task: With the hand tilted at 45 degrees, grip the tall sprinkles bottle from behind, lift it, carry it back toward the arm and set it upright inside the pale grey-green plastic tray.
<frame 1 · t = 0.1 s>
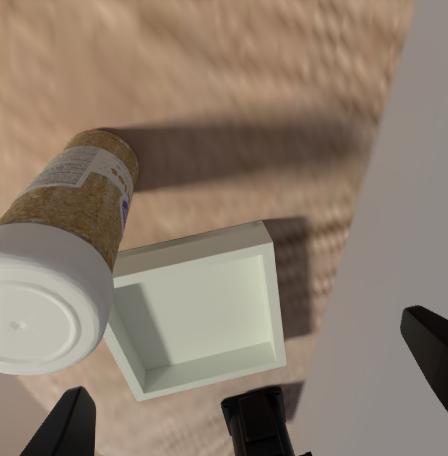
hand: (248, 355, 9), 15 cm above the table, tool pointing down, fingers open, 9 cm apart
tray: (194, 304, 27), on the table
sprinkles bottle: (102, 163, 21), on the table
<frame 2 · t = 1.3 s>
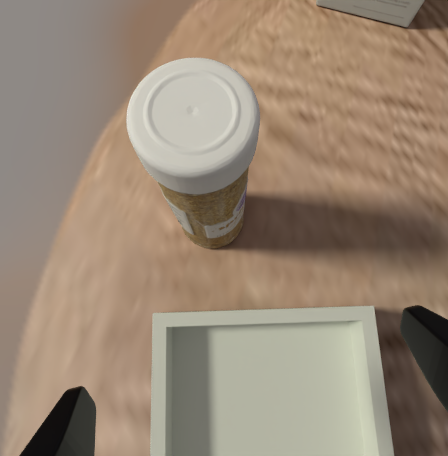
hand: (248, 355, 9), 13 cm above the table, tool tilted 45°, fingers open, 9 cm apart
tray: (264, 415, 21), on the table
sprinkles bottle: (212, 218, 24), on the table
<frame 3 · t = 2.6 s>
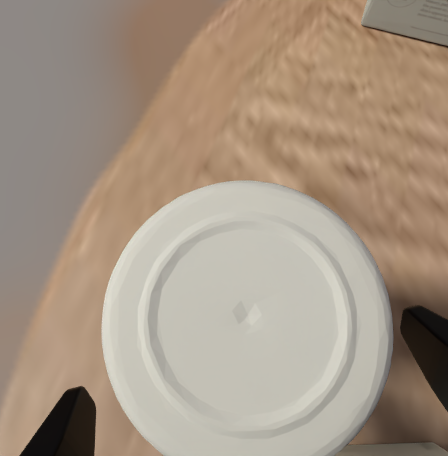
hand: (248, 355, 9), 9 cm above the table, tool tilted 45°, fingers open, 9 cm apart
small box: (424, 7, 23), on the table
sprinkles bottle: (234, 312, 18), on the table
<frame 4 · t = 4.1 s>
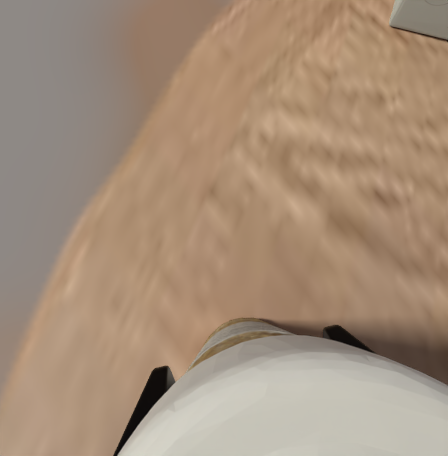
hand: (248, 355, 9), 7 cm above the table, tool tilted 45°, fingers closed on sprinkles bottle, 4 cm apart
sprinkles bottle: (246, 365, 15), on the table, touching gripper
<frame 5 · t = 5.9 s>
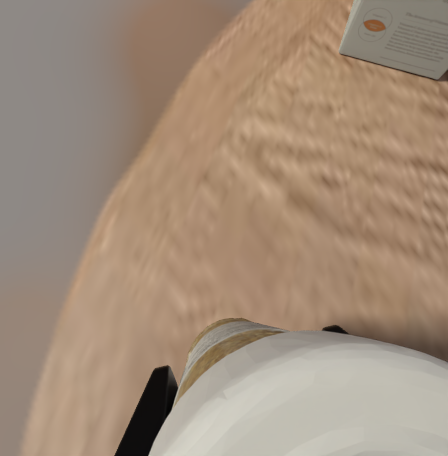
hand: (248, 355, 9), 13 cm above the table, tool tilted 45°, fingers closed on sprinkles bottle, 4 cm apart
small box: (393, 37, 26), on the table
sprinkles bottle: (233, 365, 16), point 6 cm above the table, touching gripper
when the fingers open (9 cm above the table, at t = 8.0 s): sprinkles bottle drops 1 cm, resting on tray.
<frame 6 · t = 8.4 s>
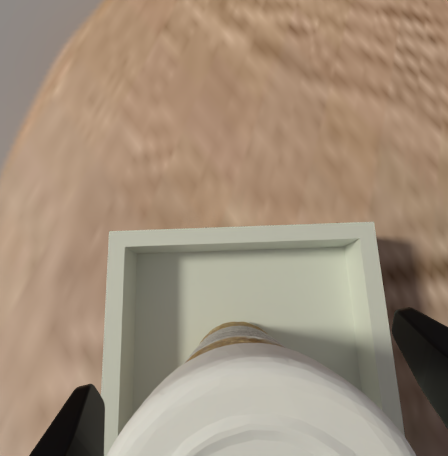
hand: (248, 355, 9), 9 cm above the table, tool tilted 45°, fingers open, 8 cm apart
tray: (244, 358, 18), on the table
sprinkles bottle: (236, 365, 17), point 1 cm above the table, touching tray
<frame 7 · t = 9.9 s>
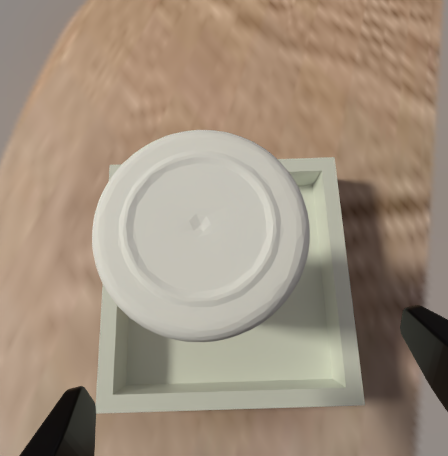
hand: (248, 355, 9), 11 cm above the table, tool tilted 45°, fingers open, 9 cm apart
tray: (225, 279, 20), on the table
sprinkles bottle: (218, 282, 20), point 1 cm above the table, touching tray
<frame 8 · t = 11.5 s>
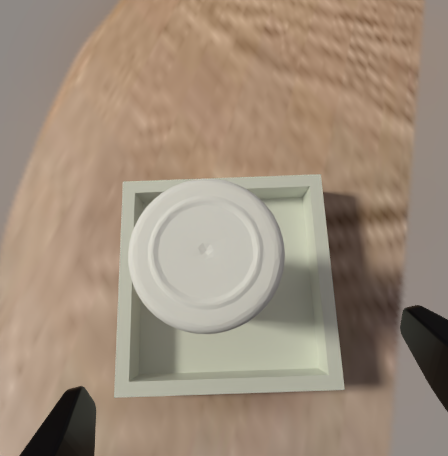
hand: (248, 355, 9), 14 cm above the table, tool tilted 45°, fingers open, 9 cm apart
tray: (225, 281, 23), on the table
sprinkles bottle: (219, 284, 22), point 1 cm above the table, touching tray
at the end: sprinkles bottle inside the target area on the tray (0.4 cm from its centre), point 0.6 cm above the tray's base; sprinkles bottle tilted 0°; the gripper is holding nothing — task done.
